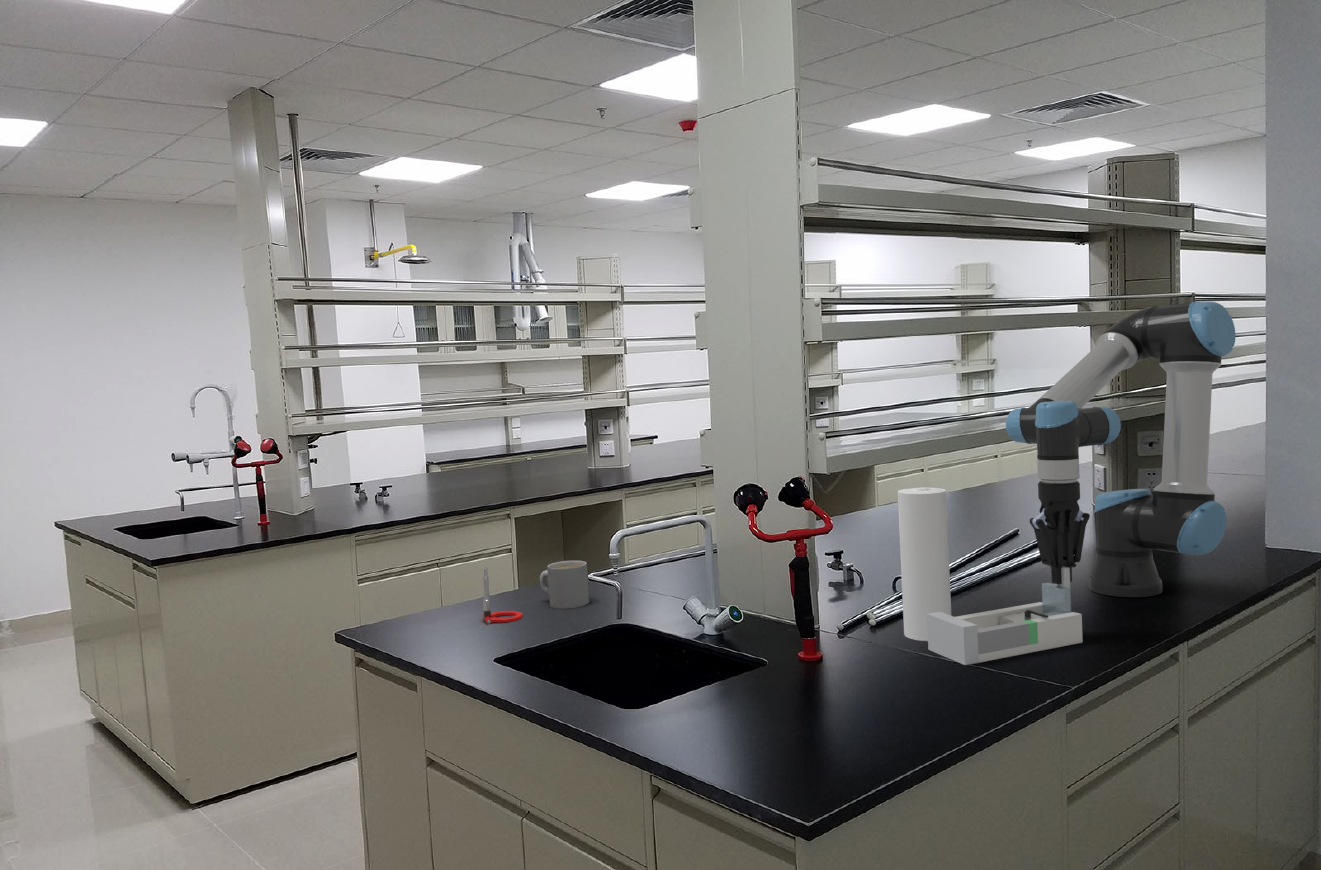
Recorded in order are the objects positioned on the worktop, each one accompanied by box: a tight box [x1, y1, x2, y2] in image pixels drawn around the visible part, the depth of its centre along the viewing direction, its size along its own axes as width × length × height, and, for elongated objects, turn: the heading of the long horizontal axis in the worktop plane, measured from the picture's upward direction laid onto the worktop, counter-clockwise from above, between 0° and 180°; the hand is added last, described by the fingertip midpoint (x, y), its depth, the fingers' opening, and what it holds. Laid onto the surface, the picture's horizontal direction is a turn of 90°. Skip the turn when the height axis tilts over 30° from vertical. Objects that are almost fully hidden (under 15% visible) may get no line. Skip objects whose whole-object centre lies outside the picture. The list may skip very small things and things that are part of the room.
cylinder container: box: [897, 486, 952, 642], centre depth 187 cm, size 9×9×30 cm
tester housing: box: [927, 601, 1083, 666], centre depth 177 cm, size 27×11×7 cm, turn 110°
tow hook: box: [482, 567, 523, 625], centre depth 222 cm, size 8×13×9 cm
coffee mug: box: [539, 560, 590, 610], centre depth 234 cm, size 13×10×10 cm
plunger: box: [1000, 582, 1072, 625], centre depth 178 cm, size 16×8×8 cm, turn 109°
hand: (1062, 599), depth 182 cm, fingers closed
